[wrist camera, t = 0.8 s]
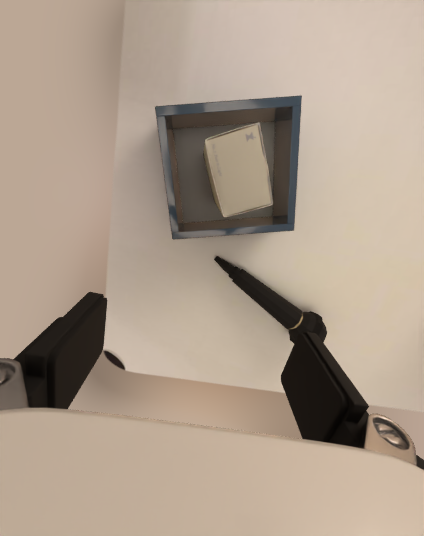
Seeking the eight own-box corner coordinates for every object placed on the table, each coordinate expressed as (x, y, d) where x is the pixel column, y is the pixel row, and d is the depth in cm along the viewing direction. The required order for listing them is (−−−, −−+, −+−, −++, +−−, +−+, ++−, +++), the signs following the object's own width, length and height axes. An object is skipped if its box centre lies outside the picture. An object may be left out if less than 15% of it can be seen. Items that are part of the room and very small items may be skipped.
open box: (165, 121, 27) (154, 106, 21) (281, 113, 27) (301, 95, 21) (178, 229, 31) (172, 239, 26) (278, 221, 31) (294, 230, 26)
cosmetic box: (202, 153, 28) (200, 135, 17) (238, 143, 28) (260, 117, 17) (215, 205, 30) (221, 219, 19) (248, 196, 30) (274, 205, 19)
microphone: (210, 260, 36) (304, 334, 39) (198, 280, 32) (306, 363, 34) (231, 236, 33) (331, 318, 36) (222, 254, 29) (339, 347, 31)
